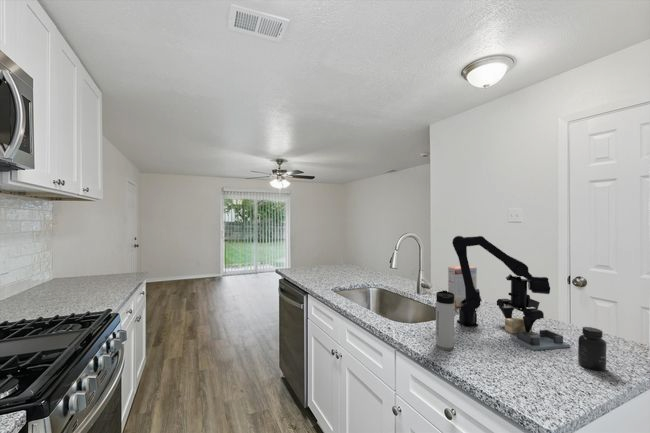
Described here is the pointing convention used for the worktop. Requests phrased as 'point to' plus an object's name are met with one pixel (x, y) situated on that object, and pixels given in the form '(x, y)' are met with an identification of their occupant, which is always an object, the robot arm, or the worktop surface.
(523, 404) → the worktop surface
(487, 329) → the worktop surface
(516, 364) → the worktop surface
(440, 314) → the travel mug
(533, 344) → the board
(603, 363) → the supplement bottle
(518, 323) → the slat
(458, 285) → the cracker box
